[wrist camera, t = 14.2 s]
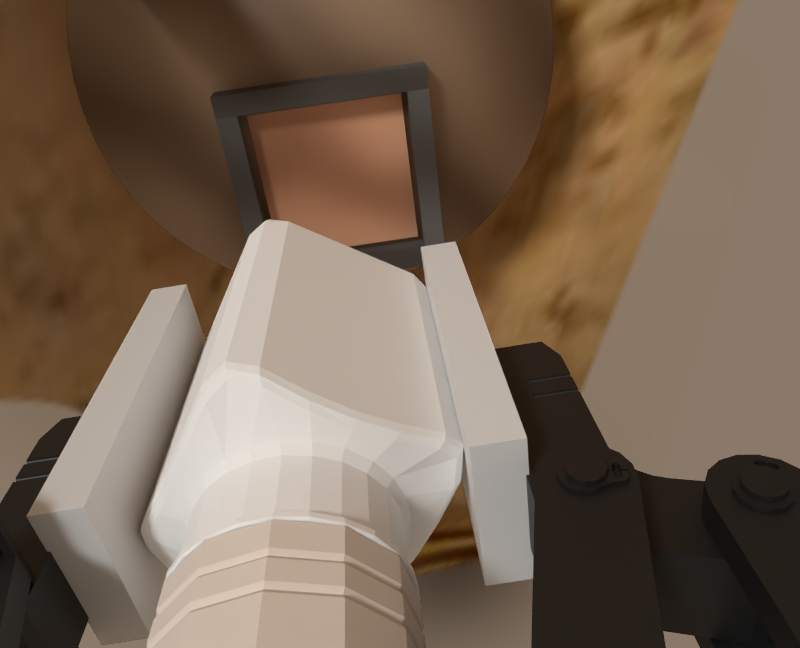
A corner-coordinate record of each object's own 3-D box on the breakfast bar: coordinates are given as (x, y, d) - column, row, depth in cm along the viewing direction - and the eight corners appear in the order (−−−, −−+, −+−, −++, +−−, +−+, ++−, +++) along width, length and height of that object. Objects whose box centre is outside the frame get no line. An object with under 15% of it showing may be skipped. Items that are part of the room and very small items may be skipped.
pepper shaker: (359, 406, 17) (373, 871, 8) (201, 350, 15) (35, 822, 7) (435, 272, 15) (547, 686, 7) (263, 199, 14) (140, 585, 6)
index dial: (367, 334, 34) (374, 437, 27) (7, 113, 27) (-106, 174, 20) (631, 22, 27) (730, 51, 20) (244, -365, 21) (197, -515, 14)
